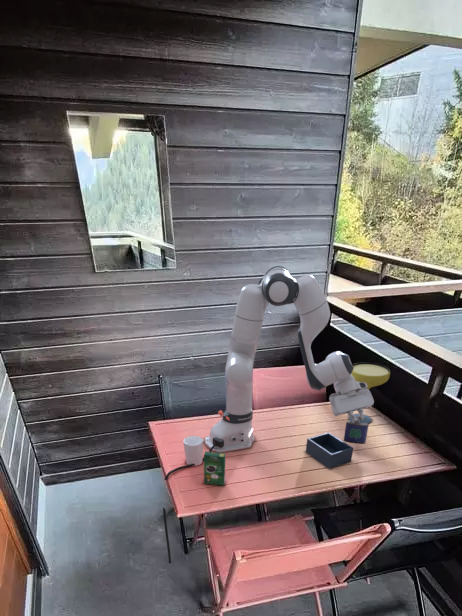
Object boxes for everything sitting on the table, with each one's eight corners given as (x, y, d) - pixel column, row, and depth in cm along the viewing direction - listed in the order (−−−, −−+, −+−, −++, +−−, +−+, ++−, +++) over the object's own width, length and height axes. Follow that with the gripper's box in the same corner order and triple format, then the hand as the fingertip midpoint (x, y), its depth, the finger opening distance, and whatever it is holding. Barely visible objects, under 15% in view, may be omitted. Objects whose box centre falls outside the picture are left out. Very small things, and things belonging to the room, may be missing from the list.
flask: (365, 442, 190) (369, 419, 183) (365, 445, 187) (368, 422, 181) (344, 439, 192) (347, 416, 186) (343, 442, 190) (346, 419, 184)
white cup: (189, 468, 178) (188, 447, 172) (181, 459, 184) (180, 438, 178) (207, 464, 181) (206, 442, 175) (199, 455, 187) (198, 434, 181)
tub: (329, 468, 178) (331, 455, 175) (305, 452, 189) (307, 438, 185) (350, 461, 183) (353, 447, 179) (326, 445, 194) (328, 432, 190)
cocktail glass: (372, 431, 205) (383, 379, 190) (335, 421, 213) (343, 370, 198) (384, 416, 217) (395, 367, 202) (349, 408, 225) (357, 359, 210)
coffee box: (226, 482, 170) (225, 452, 163) (224, 486, 168) (224, 456, 160) (205, 480, 171) (204, 450, 164) (204, 484, 169) (202, 454, 161)
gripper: (332, 391, 177) (344, 423, 176) (369, 382, 186) (381, 412, 185) (323, 397, 183) (335, 428, 182) (360, 388, 191) (371, 418, 190)
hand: (358, 420), depth 183 cm, fingers closed on flask, 2 cm apart
